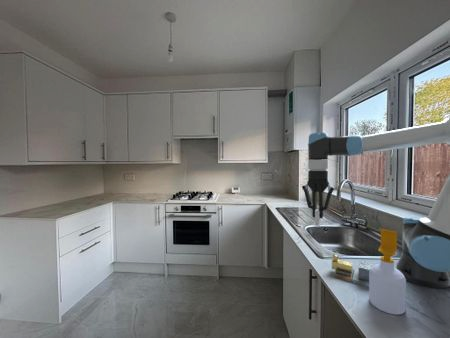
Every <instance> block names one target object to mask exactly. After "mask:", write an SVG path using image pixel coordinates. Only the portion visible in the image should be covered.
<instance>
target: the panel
mask: <svg viewBox="0 0 450 338" xmlns="http://www.w3.org/2000/svg"><path fill="white" fill-rule="evenodd" d="M334 278H335V279H340V280H343V281H346V282H350V283H352V284H353V283H354V284H356V285H361V286H364V287H368V288H369V282H367V281H363V280H359V269H356V268H355V269H354V268H353V270H352V274H351V277H348V276H344V275H341V274H337V273H335V272H334Z"/></svg>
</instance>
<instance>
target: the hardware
mask: <svg viewBox="0 0 450 338" xmlns="http://www.w3.org/2000/svg"><path fill="white" fill-rule="evenodd" d="M374 265H377V263H375V264H374ZM372 266H373V262H369V261H365V260H359V264H358V270H359V280H363V281H367V282H369V271H370V269H371V267H372ZM353 269H354V268H353V266H352V270H353ZM334 271H335V272H334V274H335V273H337V274H341V275H344V276H348V277H351V273H347V272H344V271H340V270H335V269H334Z"/></svg>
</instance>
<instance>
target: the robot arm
mask: <svg viewBox="0 0 450 338" xmlns="http://www.w3.org/2000/svg"><path fill="white" fill-rule="evenodd" d="M436 144H447V145H449V146H450V117H447V118H444V119H443V121H441V122H435V123H429V124H424V125H418V126H417V125H416V126H412V127H411V126H410V127H406V128H401V129H395V130H390V131H385V132H384V131H383V132H378V133H373V134H367V135H362V136H361V135H342V136H333V137H332V136H329V135H328V133H327V132H312V133H310V134H309V135H308V144H307V149H308V151H307V153H308V154H307V155H308V159H307V162H308V164H307V165H308V172H307V174H308V179H307V182H306V183H305V184H304V185H302V186H301V188H302V190H303V191H304V192H303V193H304V196H305V200H306V204H307V207H308V208H309V209H311V211H312V218H314V226H316V227H320V226H321V224H322V221H321V220H322V219H323V218H324V211H327V210H328V208H329V205H330V202H331V199H332V194H333V192H334V191H335V189H336V187H335V186H332V185H330V183H329V180H328V179H329V175H328V174H329V173H328V172H329V171H328V169H329V166H328V165H329V161H328V160H329V156H330V157H331V156H345V157H349V156H350V157H351V156H361V155H363V154H370V153H376V152H384V151H391V150H392V151H393V150H399V149H406V148H414V147H422V146H428V145H429V146H430V145H436ZM309 189H310V190H311V195H312V199H311V196H310V190H309ZM326 190H327V191H328V192H327V195H326V198H325V202H324V192H325V191H326ZM317 200H318V202H317ZM434 201H435V202H434V203H433V205H432V207H431V209H430V211H429V213H428V214H427V216H426V217H417V216H416V217H415V216H405V217H404V218H403V219H402V223H401V225H402V240H401V241H402V242H401V243H402V244H401V245H402V247H401V248H402V249H401V251H402V252H401V255H400V257H399V259H398V262H397V263H396V267H395V268H396V269H398V270H399V271H400V272H401V273H402V274H403V275H404V276H405V279H406V281H408V282H411V283H414V284H416V285H420V286H423V287H427V288H432V289H439V290H441V289H448V288H450V276H449V273H448V272H450V174H449V175H448V176H447V178H446V181H445V182H444V184H443V185H442V188H441V190H440V192H439V193H438V196H437V198H436V199H435V200H434ZM317 203H318V205H317ZM317 206H318V207H317Z"/></svg>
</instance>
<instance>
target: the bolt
mask: <svg viewBox="0 0 450 338" xmlns="http://www.w3.org/2000/svg"><path fill="white" fill-rule="evenodd" d="M352 267H353V262H349V261H345V260H340V259H339V255H338V254H335V253H334V254H332V259H331V270H334V271H335V270H340V271H344V272H347V273H351V274H352Z"/></svg>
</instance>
